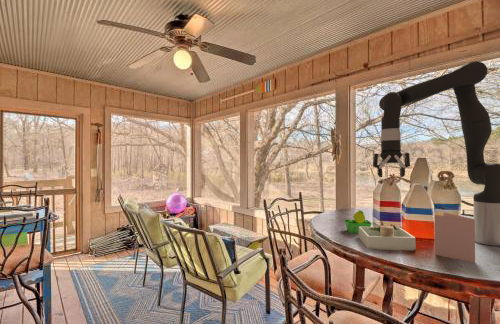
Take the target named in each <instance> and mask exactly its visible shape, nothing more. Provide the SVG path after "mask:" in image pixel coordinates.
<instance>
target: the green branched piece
mask: <svg viewBox="0 0 500 324" xmlns="http://www.w3.org/2000/svg"><path fill="white" fill-rule="evenodd" d="M380 226H385V225H384V222H383V221H382V220H381V221H380ZM380 226H373V227H374V228H370V230H375V231H378V232H379V233H380ZM386 226H391V227H394V229H395V230H397V228H396V225H395V224H394V225H393V224H392V223H390V224H389V225H388V224H387V225H386ZM376 227H378V228H376ZM379 236H380V235H379Z"/></svg>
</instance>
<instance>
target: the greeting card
mask: <svg viewBox="0 0 500 324" xmlns="http://www.w3.org/2000/svg"><path fill="white" fill-rule="evenodd" d="M433 218H434V221H433V222H434V255H435V256H439V257H444V258H450V259H455V260H460V261H465V262H470V263H476V241H475V219H474V218H471V217H466V216H462V215H457V214H451V213H448V212H443V215H442V214H441V215H439V214H434V217H433Z"/></svg>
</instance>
